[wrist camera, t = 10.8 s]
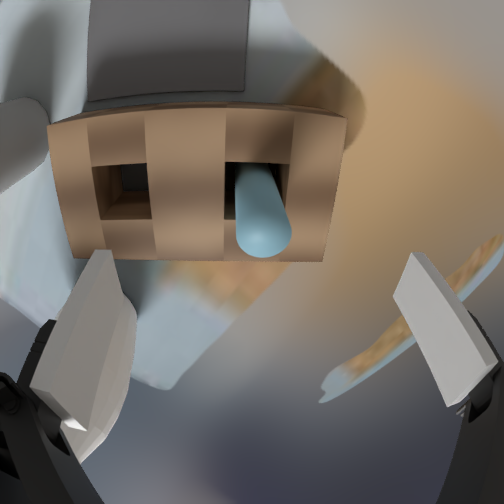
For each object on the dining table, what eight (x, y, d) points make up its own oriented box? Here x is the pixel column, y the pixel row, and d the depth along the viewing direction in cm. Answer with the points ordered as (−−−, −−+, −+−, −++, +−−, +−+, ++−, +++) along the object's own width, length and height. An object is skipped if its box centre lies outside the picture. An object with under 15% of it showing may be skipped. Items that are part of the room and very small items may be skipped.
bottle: (85, 332, 37) (38, 491, 16) (57, 273, 31) (-27, 454, 10) (153, 337, 38) (127, 519, 17) (134, 273, 32) (71, 503, 10)
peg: (235, 150, 25) (237, 208, 15) (269, 152, 25) (295, 210, 15) (234, 182, 27) (235, 257, 17) (266, 183, 27) (288, 258, 17)
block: (80, 113, 21) (46, 125, 16) (323, 108, 23) (347, 118, 18) (96, 225, 28) (73, 258, 23) (307, 227, 30) (322, 261, 25)
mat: (96, -30, 13) (95, -31, 13) (252, -48, 14) (252, -49, 14) (89, 101, 21) (87, 101, 21) (243, 90, 22) (243, 91, 22)
